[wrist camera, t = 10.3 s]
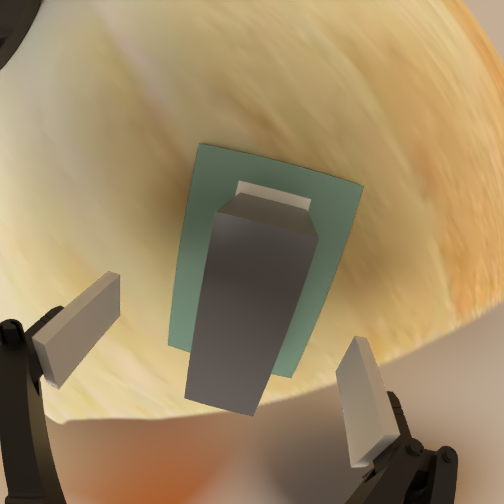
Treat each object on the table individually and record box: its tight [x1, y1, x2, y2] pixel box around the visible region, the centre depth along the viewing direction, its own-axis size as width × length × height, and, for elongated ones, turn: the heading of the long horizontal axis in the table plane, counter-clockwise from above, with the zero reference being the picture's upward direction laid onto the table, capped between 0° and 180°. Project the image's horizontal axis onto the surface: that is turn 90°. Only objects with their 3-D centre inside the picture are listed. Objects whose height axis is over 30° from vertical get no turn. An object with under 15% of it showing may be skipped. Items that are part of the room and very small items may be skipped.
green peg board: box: [168, 144, 364, 378], centre depth 20 cm, size 18×12×6 cm, turn 166°
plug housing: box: [184, 192, 319, 416], centre depth 18 cm, size 13×5×7 cm, turn 167°
